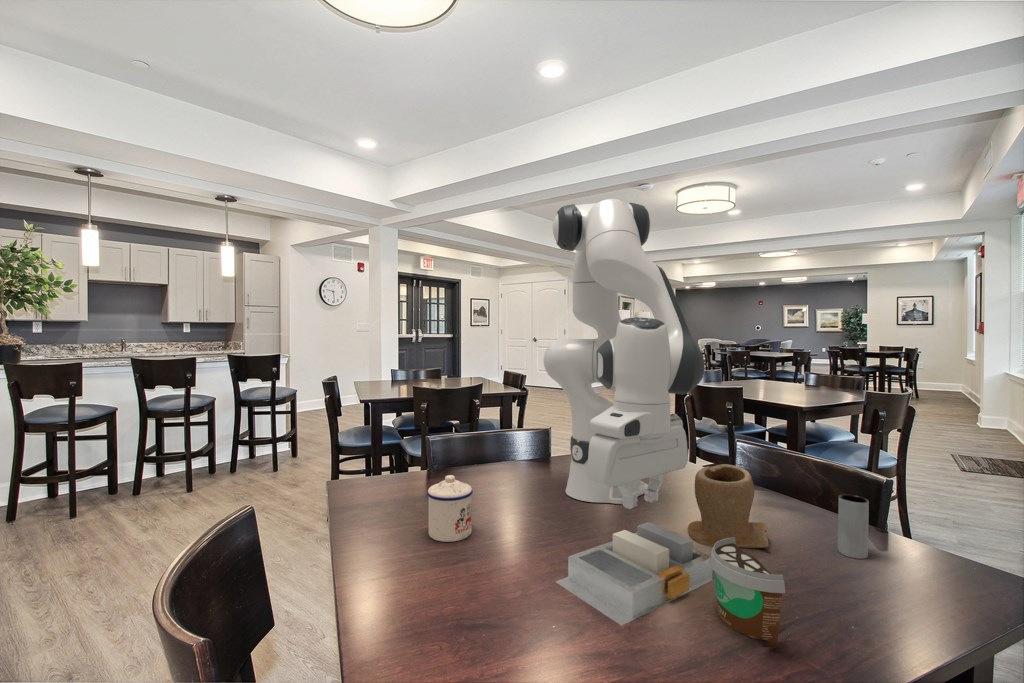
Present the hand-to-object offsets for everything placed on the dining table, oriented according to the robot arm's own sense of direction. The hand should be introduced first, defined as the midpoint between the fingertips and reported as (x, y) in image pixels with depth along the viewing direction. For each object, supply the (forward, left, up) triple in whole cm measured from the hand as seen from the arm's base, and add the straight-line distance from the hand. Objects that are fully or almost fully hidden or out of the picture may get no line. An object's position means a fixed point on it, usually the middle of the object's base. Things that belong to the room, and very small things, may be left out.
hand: (640, 504), depth 78 cm
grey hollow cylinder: (-41, +15, -13) cm, 46 cm away
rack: (0, 0, -13) cm, 13 cm away
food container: (-2, +15, -13) cm, 20 cm away
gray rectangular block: (-6, 0, -12) cm, 14 cm away
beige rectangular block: (0, 0, -12) cm, 12 cm away
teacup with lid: (+15, -36, -13) cm, 41 cm away
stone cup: (-26, 0, -13) cm, 29 cm away
